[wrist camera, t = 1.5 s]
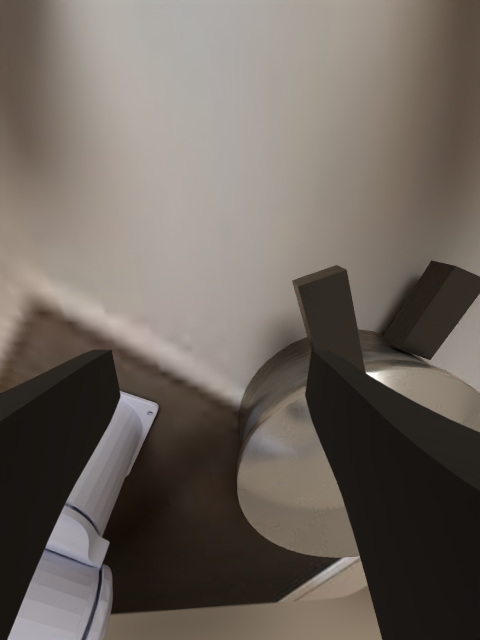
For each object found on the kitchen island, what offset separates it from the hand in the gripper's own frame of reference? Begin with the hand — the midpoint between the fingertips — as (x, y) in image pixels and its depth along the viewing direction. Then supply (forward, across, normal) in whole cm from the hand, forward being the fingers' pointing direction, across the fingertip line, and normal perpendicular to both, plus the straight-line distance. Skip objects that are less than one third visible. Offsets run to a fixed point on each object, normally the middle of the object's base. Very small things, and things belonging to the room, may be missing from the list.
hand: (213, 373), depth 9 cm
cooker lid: (+5, -9, +9) cm, 14 cm away
